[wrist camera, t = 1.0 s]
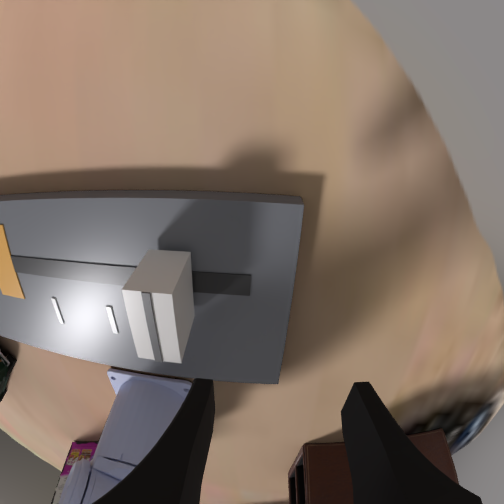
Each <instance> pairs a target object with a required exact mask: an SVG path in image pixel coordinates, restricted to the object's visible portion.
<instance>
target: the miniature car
mask: <svg viewBox="0 0 504 504" xmlns="http://www.w3.org/2000/svg"><path fill="white" fill-rule="evenodd" d="M16 361H17V360H16V359H15V358H13V357H12V356H11V355H10V354H8V355H7V357H5V356H4V355H3V354H2V353H1V350H0V402H1V401H2V399H3V397H4V395H5V393H6V392H7V390H6V389H5V387H6V384H7V381H8V378H9V374H10V372H11V370H12V369H13V367H14V365H15V363H16Z"/></svg>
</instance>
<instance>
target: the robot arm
mask: <svg viewBox="0 0 504 504" xmlns="http://www.w3.org/2000/svg"><path fill="white" fill-rule="evenodd" d="M107 374H108V377H109V379H110V381H111V384H112V386H113V388H114V391H115V393H116V395H117V396H116V398H115V401H114V403H113V406H112V408H111V411H110V413H109V416H108V419H107V421H106V424H105V426H104V429H103V432H102V435H101V437H100V440H99V443H98V445H97V448H96V451H95V454H94V457H93V459H92V460H91V461H88V460H86V459H82V460H81V461H76V462H75V463H74V465H73V466H72V468H71V470H70V473H69V475H68V477H67V480H66V482H65V485H64V488H63V491H62V494H61V497H60V500H59V504H199V502H200V492H201V484H202V479H203V474H204V469H205V465H206V460H207V456H208V451H209V447H210V442H211V437H212V433H213V424H214V414H215V401H214V387H213V379H203V378H196V379H194V381H193V383H191V382H189V381H186V380H179V379H171V378H164V377H157V376H151V375H144V374H139V373H133V372H127V371H122V370H117V369H111V368H110V369H108V371H107ZM341 418H342V430H343V437H344V442H345V447H346V452H347V457H348V462H349V467H350V473H351V478H352V485H353V502H354V504H482V501H481V498H480V497H479V496H477V495H475V494H473V493H471V492H470V491H468V490H466V489H464V488H463V487H461V486H460V485H458V484H457V483H456V482H454V481H453V480H451V479H450V478H449V477H448V476H446V475H445V474H444V473H443V472H442V471H440V470H439V469H438V468H437V467H436V466H434V465H433V464H432V463H431V462H430V461H429V460H428V459H427V458H426V457H425V456H424V455H423V454H422V453H421V452H420V451H419V450H418V448H417V447H416V446H415V445H414V444H413V443H412V441H411V440H410V439H409V438H408V437H407V435H406V434H405V433H404V432H403V430H402V429H401V428H400V426H399V425H398V424H397V422H396V421H395V419H394V418H393V417H392V415H391V414H390V412H389V411H388V410H387V408H386V407H385V405H384V404H383V402H382V401H381V399H380V398H379V396H378V395H377V393H376V392H375V390H374V388H373V387H372V385H371V384H370V383H369V382H354V384H353V386H352V389H351V391H350V393H349V395H348V397H347V400H346V402H345V404H344V406H343V408H342V410H341Z"/></svg>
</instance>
